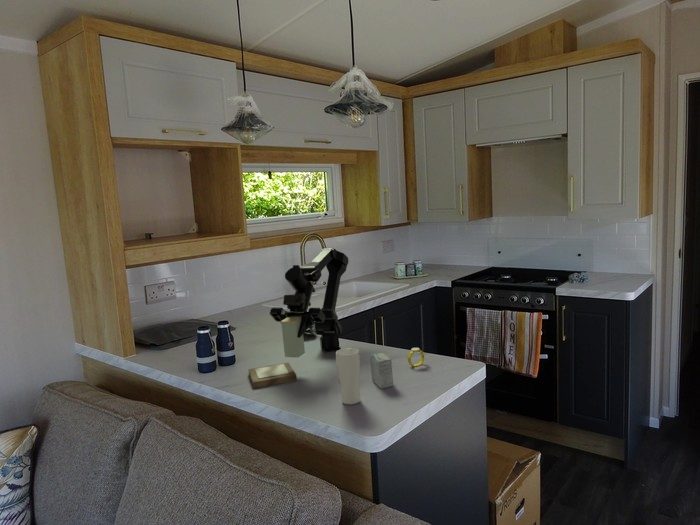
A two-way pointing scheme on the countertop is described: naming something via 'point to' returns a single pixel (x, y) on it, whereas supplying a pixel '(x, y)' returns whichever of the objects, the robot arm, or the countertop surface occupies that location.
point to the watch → (411, 355)
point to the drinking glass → (349, 374)
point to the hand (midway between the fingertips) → (291, 337)
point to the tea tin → (292, 337)
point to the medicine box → (381, 370)
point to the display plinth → (272, 375)
